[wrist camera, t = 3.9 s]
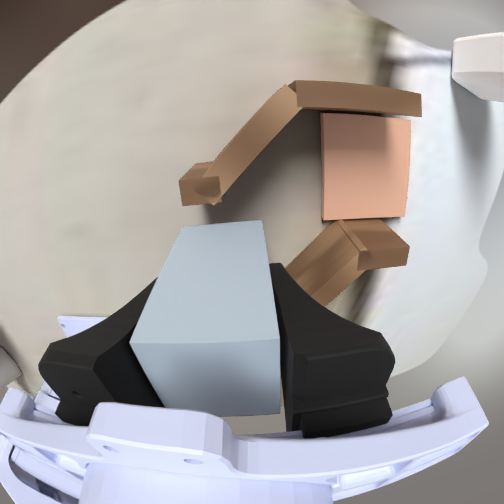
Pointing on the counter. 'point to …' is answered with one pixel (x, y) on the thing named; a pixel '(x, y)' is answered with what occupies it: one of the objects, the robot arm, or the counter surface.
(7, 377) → the flask
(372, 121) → the coaster
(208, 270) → the slate block
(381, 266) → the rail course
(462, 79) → the pepper shaker
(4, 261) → the counter surface
